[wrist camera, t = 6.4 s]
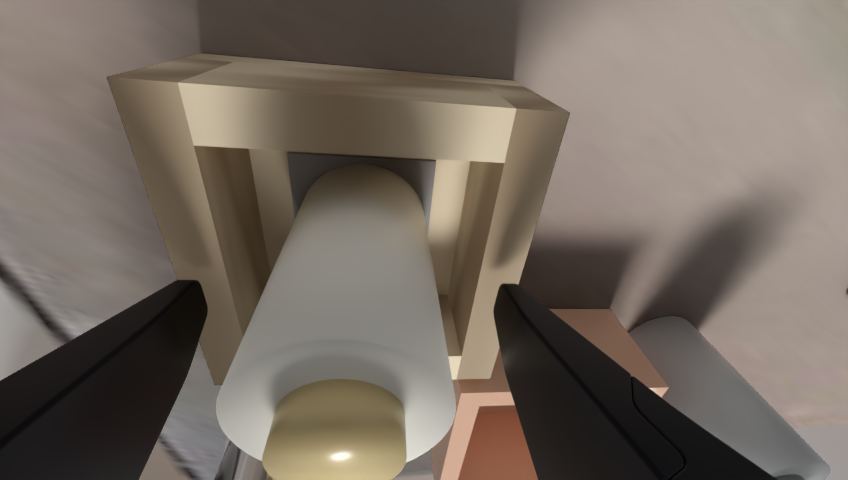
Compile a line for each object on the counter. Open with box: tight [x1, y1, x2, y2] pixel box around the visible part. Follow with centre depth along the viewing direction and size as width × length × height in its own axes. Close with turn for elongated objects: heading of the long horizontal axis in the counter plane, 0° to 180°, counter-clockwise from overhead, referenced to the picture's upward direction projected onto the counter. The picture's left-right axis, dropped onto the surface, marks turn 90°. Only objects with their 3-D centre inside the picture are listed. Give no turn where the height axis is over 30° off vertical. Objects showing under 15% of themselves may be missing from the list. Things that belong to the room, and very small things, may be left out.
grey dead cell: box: [629, 316, 830, 480], centre depth 16 cm, size 4×4×8 cm
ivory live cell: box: [216, 164, 456, 480], centre depth 9 cm, size 4×4×8 cm
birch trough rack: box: [107, 53, 570, 385], centre depth 11 cm, size 9×9×4 cm
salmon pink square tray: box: [431, 309, 669, 480], centre depth 17 cm, size 8×8×4 cm
